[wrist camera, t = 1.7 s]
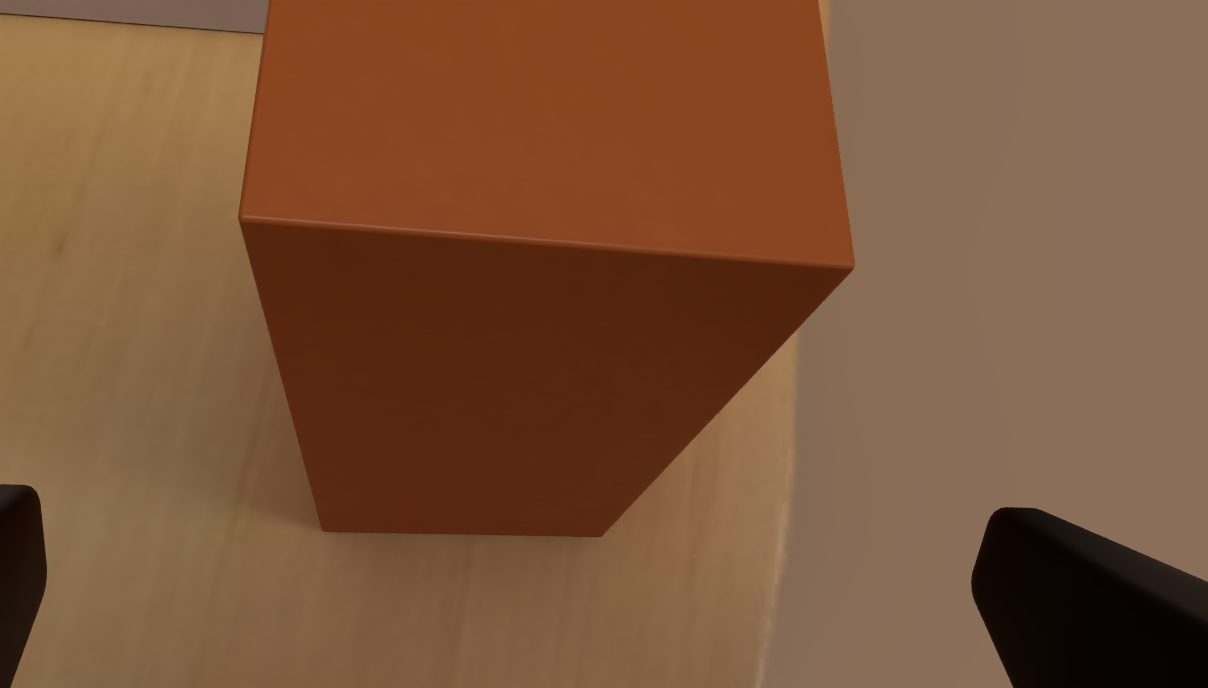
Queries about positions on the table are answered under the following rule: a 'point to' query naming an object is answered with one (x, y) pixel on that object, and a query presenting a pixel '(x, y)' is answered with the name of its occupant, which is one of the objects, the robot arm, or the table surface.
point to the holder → (153, 12)
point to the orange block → (531, 242)
